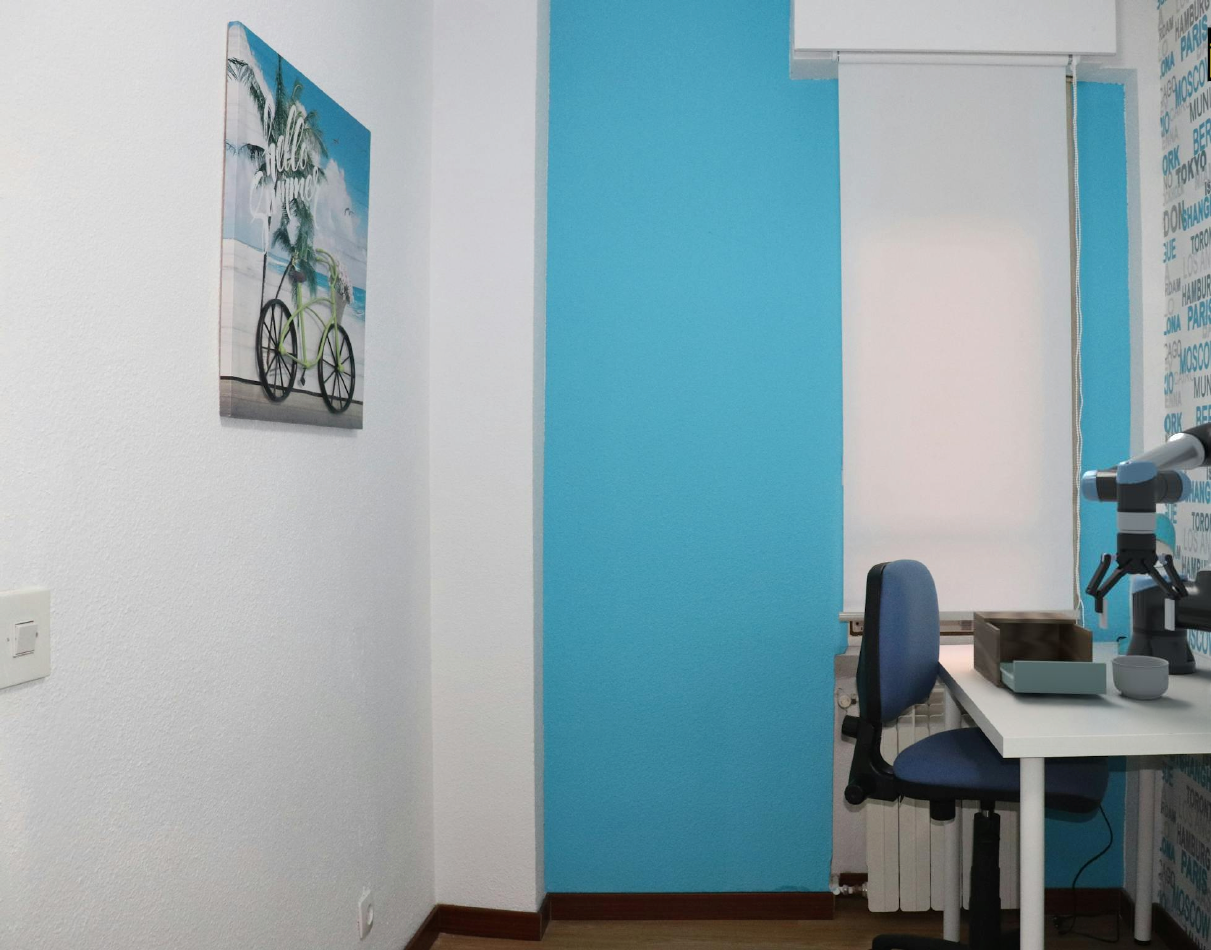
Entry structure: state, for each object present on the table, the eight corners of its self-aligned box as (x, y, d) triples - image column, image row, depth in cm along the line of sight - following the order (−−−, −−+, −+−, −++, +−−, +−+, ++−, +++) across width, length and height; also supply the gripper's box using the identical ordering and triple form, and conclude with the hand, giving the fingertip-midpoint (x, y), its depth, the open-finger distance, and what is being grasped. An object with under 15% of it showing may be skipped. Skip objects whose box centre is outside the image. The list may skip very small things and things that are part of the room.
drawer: (1072, 673, 218) (1072, 645, 218) (1106, 694, 198) (1106, 663, 198) (989, 672, 220) (989, 644, 220) (1014, 692, 201) (1014, 661, 201)
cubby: (1061, 669, 228) (1061, 612, 228) (1092, 689, 208) (1092, 626, 208) (973, 667, 231) (973, 611, 231) (996, 686, 211) (996, 625, 211)
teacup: (1177, 703, 195) (1177, 665, 195) (1121, 701, 197) (1120, 663, 197) (1152, 688, 209) (1152, 652, 209) (1099, 686, 211) (1099, 651, 211)
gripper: (1189, 530, 205) (1189, 627, 205) (1069, 530, 208) (1069, 624, 209) (1206, 533, 198) (1206, 633, 198) (1082, 532, 201) (1082, 630, 201)
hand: (1136, 629), depth 203 cm, fingers open, 13 cm apart
